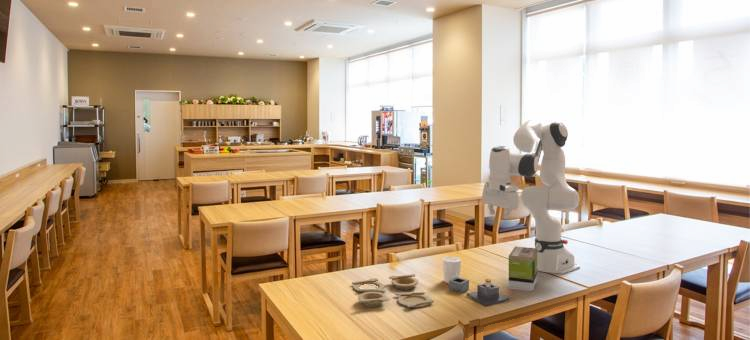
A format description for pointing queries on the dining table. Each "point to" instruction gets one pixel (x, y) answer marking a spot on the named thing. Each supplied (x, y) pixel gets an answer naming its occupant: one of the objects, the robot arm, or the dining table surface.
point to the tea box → (523, 268)
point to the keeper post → (489, 301)
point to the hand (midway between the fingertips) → (499, 216)
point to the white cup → (451, 268)
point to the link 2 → (488, 291)
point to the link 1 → (459, 285)
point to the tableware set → (406, 299)
